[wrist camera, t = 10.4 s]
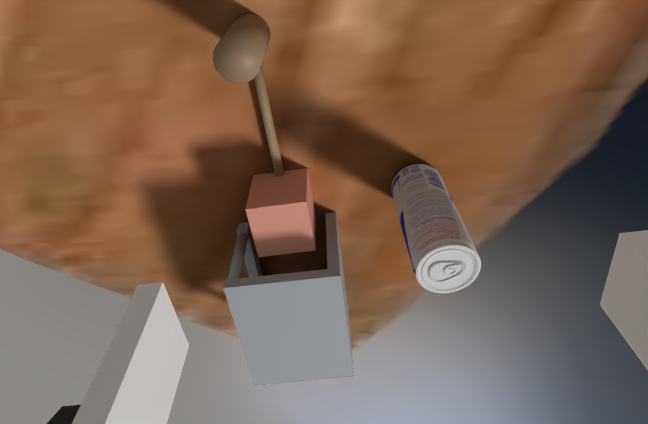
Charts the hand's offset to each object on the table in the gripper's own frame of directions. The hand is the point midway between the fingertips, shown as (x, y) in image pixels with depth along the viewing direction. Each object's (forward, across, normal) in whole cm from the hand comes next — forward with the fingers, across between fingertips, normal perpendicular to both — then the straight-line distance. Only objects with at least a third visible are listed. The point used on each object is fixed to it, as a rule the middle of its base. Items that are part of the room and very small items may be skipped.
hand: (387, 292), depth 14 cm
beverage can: (+35, +7, -17) cm, 39 cm away
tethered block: (+35, -8, -8) cm, 37 cm away
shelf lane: (+35, -8, -27) cm, 45 cm away
